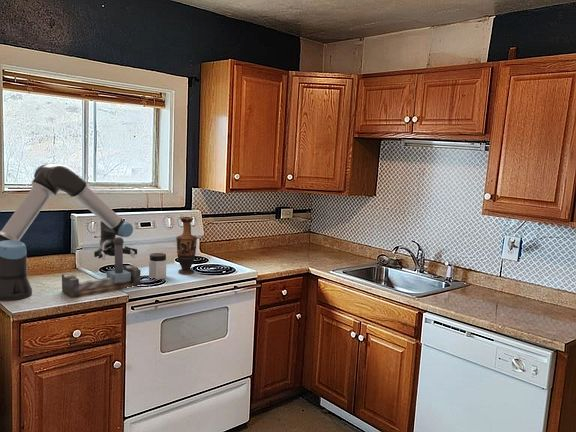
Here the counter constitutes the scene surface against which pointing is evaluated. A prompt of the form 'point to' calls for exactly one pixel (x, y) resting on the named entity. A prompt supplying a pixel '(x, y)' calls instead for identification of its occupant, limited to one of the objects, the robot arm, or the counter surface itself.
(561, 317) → the counter surface
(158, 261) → the jar
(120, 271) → the carriage
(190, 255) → the vase
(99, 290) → the rail
